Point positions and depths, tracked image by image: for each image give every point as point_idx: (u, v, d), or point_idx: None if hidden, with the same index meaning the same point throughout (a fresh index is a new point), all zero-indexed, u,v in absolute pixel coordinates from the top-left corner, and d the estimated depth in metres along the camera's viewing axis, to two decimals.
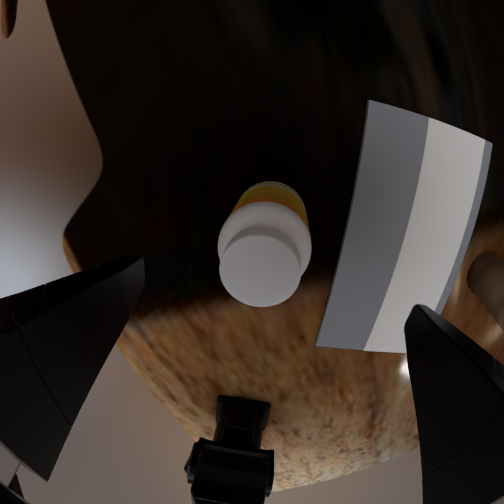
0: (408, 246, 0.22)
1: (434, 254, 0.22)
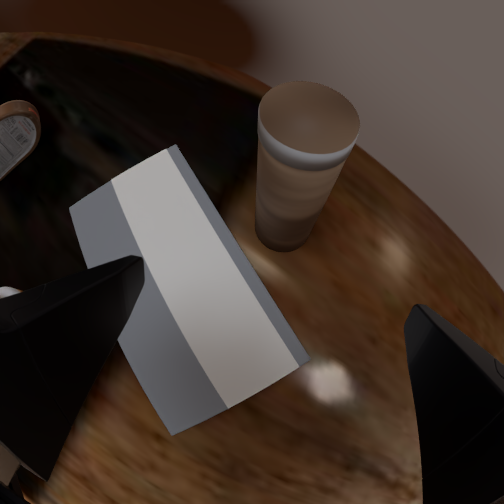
0: (160, 273, 0.22)
1: (192, 257, 0.23)
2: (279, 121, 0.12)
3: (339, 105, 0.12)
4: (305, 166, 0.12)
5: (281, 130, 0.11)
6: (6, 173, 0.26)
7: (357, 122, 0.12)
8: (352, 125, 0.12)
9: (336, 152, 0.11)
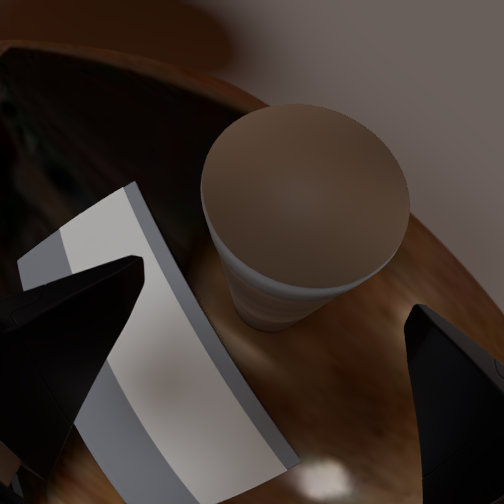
0: (115, 357, 0.16)
1: (153, 340, 0.16)
2: (242, 207, 0.06)
3: (370, 158, 0.06)
4: (296, 296, 0.06)
5: (245, 232, 0.05)
6: None
7: (405, 198, 0.06)
8: (396, 207, 0.06)
9: (363, 280, 0.05)
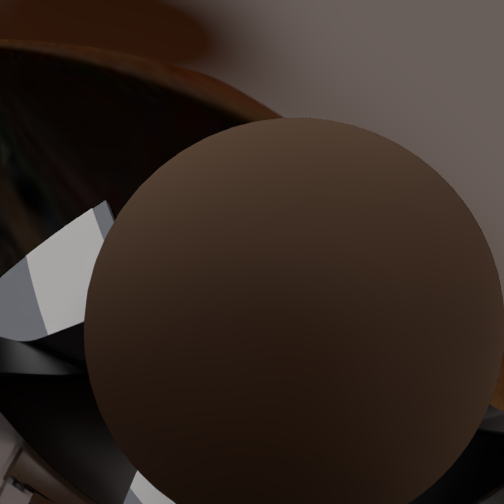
0: None
1: None
2: (164, 401, 0.02)
3: (450, 251, 0.03)
4: None
5: (172, 455, 0.02)
6: None
7: (499, 336, 0.02)
8: (484, 360, 0.02)
9: (398, 500, 0.02)
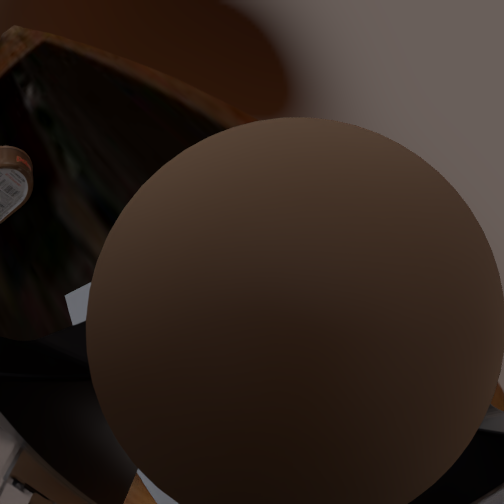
0: None
1: None
2: (166, 400, 0.02)
3: (451, 251, 0.03)
4: None
5: (175, 454, 0.02)
6: None
7: (500, 335, 0.02)
8: (485, 359, 0.02)
9: (400, 499, 0.02)
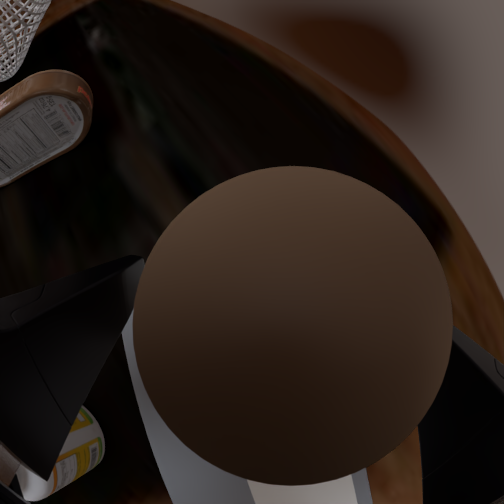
0: None
1: None
2: (193, 377, 0.03)
3: (404, 270, 0.04)
4: None
5: (198, 417, 0.03)
6: (33, 167, 0.20)
7: (447, 335, 0.03)
8: (433, 353, 0.03)
9: (368, 461, 0.03)
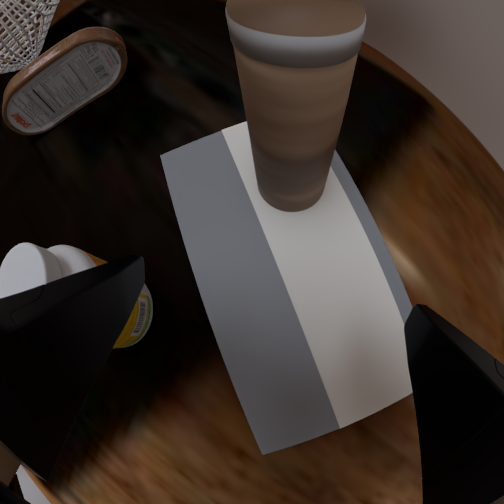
0: (284, 255, 0.18)
1: (328, 242, 0.18)
2: (254, 11, 0.07)
3: None
4: (301, 60, 0.07)
5: (258, 18, 0.06)
6: (75, 110, 0.24)
7: (361, 7, 0.06)
8: (355, 9, 0.06)
9: (341, 34, 0.06)
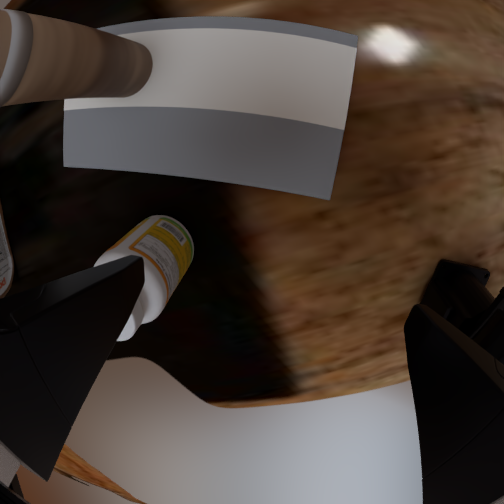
0: (178, 98, 0.18)
1: (185, 60, 0.17)
2: None
3: None
4: (21, 67, 0.07)
5: None
6: (5, 232, 0.25)
7: None
8: None
9: (11, 38, 0.05)
